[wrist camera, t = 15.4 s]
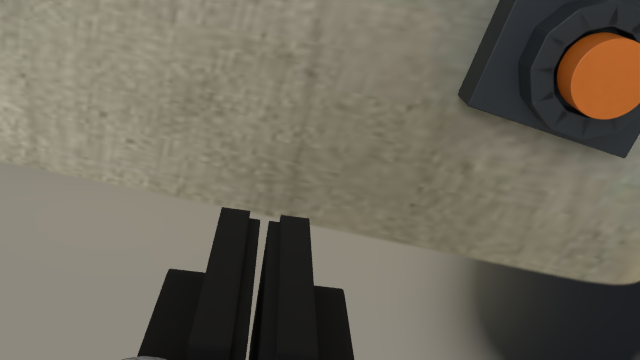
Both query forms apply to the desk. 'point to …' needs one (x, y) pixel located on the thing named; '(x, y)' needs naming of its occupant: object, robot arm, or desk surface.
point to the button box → (548, 67)
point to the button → (601, 75)
